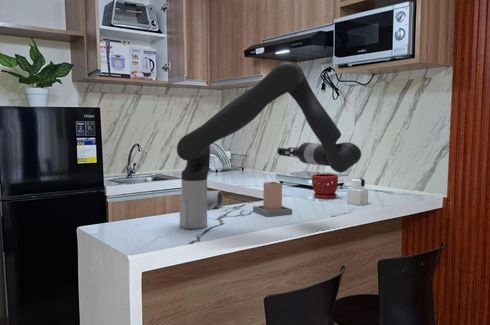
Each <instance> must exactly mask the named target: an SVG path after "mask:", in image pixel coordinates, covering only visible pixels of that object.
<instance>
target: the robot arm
mask: <svg viewBox="0 0 490 325" xmlns="http://www.w3.org/2000/svg"><path fill="white" fill-rule="evenodd" d="M286 93H288V94H289V95H290V96H291V97H292V99H294V101H295V102H296V104H297V105H298V106H299V108H300V110H301V112H302V113H303V116H304V117H305V120H306V123H307V125H308V126H309V127H310V129H311V131H312V132H313V133H314V135H315V136H316V138H317V140H318V141H319V143H315V142H302V144H300V146H295V147H294V146H293V147H292V146H289V147H287V148H285V147H278V148H277V154H278V155H279V156H283V157H284V156H285V157H288V158H295V159H296V158H297V159H299V162H301V163H303V164H308V165H313V166H325V167H330V168H331V169H332V170H333V171H334V172H336V173H340V174H341V173H344V172H346V171H348V170H349V169H350V168H351V167H353V166H354V165H355V164H357V163H358V162H359V161H360V159H361V158H362V151H361V149H360V147H359V146H357V145H356V144H354V143H352V142H347V141H346V142H340V143H337V141H338V140H339V139H340V138H341V137H342V133H341V130H340V129H339V128H338V126H337V125H336V123H335V121H334V120H333V119H332V117H331V116H330V114H328V112H327V111H326V109H325V108H324V107H323V105H322V104H321V102H320V101H319V100H318V98H317V97H316V95H315V93H314V92H313V89H312V88H311V86H310V83H309V81H308V80H307V77H306V76H305V73H304V70H303V69H302V68H301V66H300V65H299V64H297V63H295V62H290V61H285V62H284V61H283V62H281V63H279V64H278V65H276V66H275V67H274V68H273V69H272V70H271V71H270V72H269V73H268V74H266V76H265V77H263V78H262V79H261V80H260V81H259V82H258V83H256V84H255V85H254V86H253V87H251V88H249V89H248V90H246V91H244V92H243V93H242V94H240V95H238V97H236V98H234V99H233V100H231V101H230V102H229V103H228V104H227V105H225V106H224V107H223V108H221V110H219V111H218V112H217V113H215V114H214V115H213V116H212V117H210V118H209V119H208V120H207V121H205V122H204V123H203V124H202V125H200V126H199V127H197V128H195V129H194V130H192V131H191V132H188V133H187V134H185V135H184V136H182V137H181V139H179V141H178V143H177V145H176V153H177V155H178V157H179V158H180V159H182V160H184V161H186V166H185V168H184V169H183V170H182V171H181V175H180V176H181V178H180V179H181V199H179V226H180V227H181V228H183V229H184V230H185V229H186V230H187V229H188V230H189V229H190V230H191V229H192V230H194V229H195V230H197V229H204V228H206V227H208V210H207V191H208V174H209V171H210V164H211V163H210V162H211V161H210V160H211V147H210V146H211V145H212V144H214V143H216V142H218V141H219V140H221V139H224V138H226V137H228V136H230V135H232V134H234V133H236V132H238V131H240V130H241V129H243V128H244V127H246V126H247V125H248V124H249V123H250V124H251V122H252V121H253V120H255V119H256V117H258V116H259V115H260V113H262V111H263V110H264V109H265V108H266V107H267V106H268V105H269V104H270V103H272V102H273V101H275V100H276V99H277V98H280V97H281V96H283V95H284V94H286Z"/></svg>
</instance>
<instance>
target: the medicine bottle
mask: <svg viewBox="0 0 490 325" xmlns="http://www.w3.org/2000/svg"><path fill="white" fill-rule="evenodd" d="M365 184H366V181H365V179H364V178H352V179H351V188H347V196H346V198H347V199H346V200H347V201H346V203H347V204H349V205H355V206H364V205H367V204H368V203H369V189H368V188H365V187H366V186H365Z"/></svg>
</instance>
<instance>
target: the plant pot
mask: <svg viewBox="0 0 490 325" xmlns="http://www.w3.org/2000/svg"><path fill="white" fill-rule="evenodd" d="M311 183H312V189H313V192H314V193H313V197H315V198H316V199H319V200H322V199H323V200H330V199H331V200H332V199H335V198H336V197H337V195H338V194H337V193H336V192H337V189H338V184H339V175H338V174H335V173H317V174H316V173H315V174H312V175H311Z"/></svg>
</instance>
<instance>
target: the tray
mask: <svg viewBox="0 0 490 325" xmlns="http://www.w3.org/2000/svg"><path fill="white" fill-rule="evenodd" d="M252 212H253V213H255V212H256V214H258V215H261V216H263V217H266V218H271V217H280V216H288V215H289V216H290V215H293V209H292V208H290V207H287V206H284V205H282V210H274V211H266V210H264V209H263V205H254V206H252Z"/></svg>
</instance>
